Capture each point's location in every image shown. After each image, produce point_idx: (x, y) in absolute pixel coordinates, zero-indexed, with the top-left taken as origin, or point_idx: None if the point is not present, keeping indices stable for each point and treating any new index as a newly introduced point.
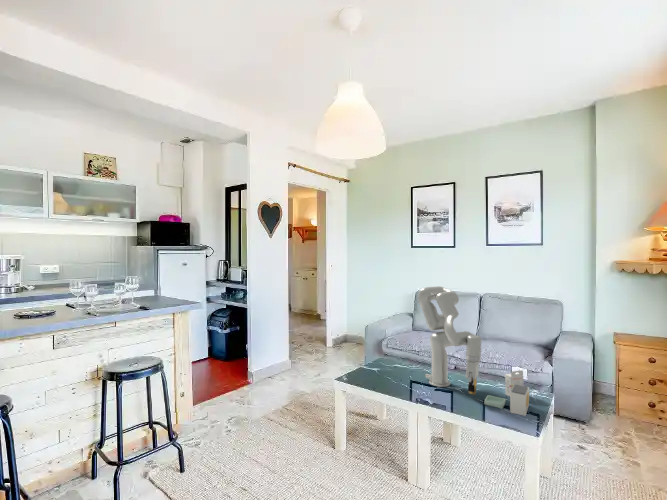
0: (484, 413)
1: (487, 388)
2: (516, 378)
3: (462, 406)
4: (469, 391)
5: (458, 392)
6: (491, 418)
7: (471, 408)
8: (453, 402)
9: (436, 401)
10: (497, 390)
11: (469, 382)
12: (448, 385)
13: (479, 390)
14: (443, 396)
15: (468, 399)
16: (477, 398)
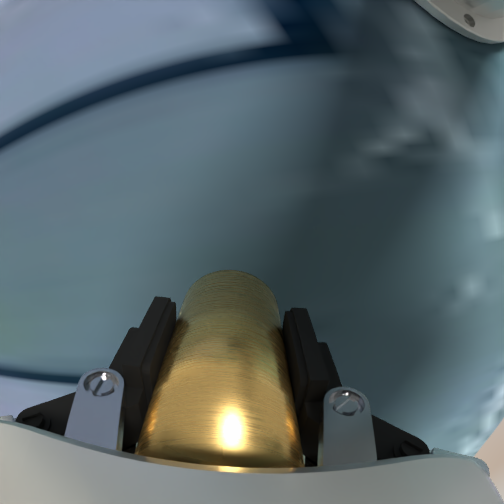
0: (20, 378)
1: (488, 343)
2: None
3: (4, 236)
4: (186, 301)
5: (329, 120)
6: (4, 401)
7: (17, 304)
8: (28, 143)
9: (3, 25)
10: (462, 397)
11: (13, 421)
12: (440, 18)
13: (451, 308)
14: (122, 9)
15: (173, 257)
16: None
